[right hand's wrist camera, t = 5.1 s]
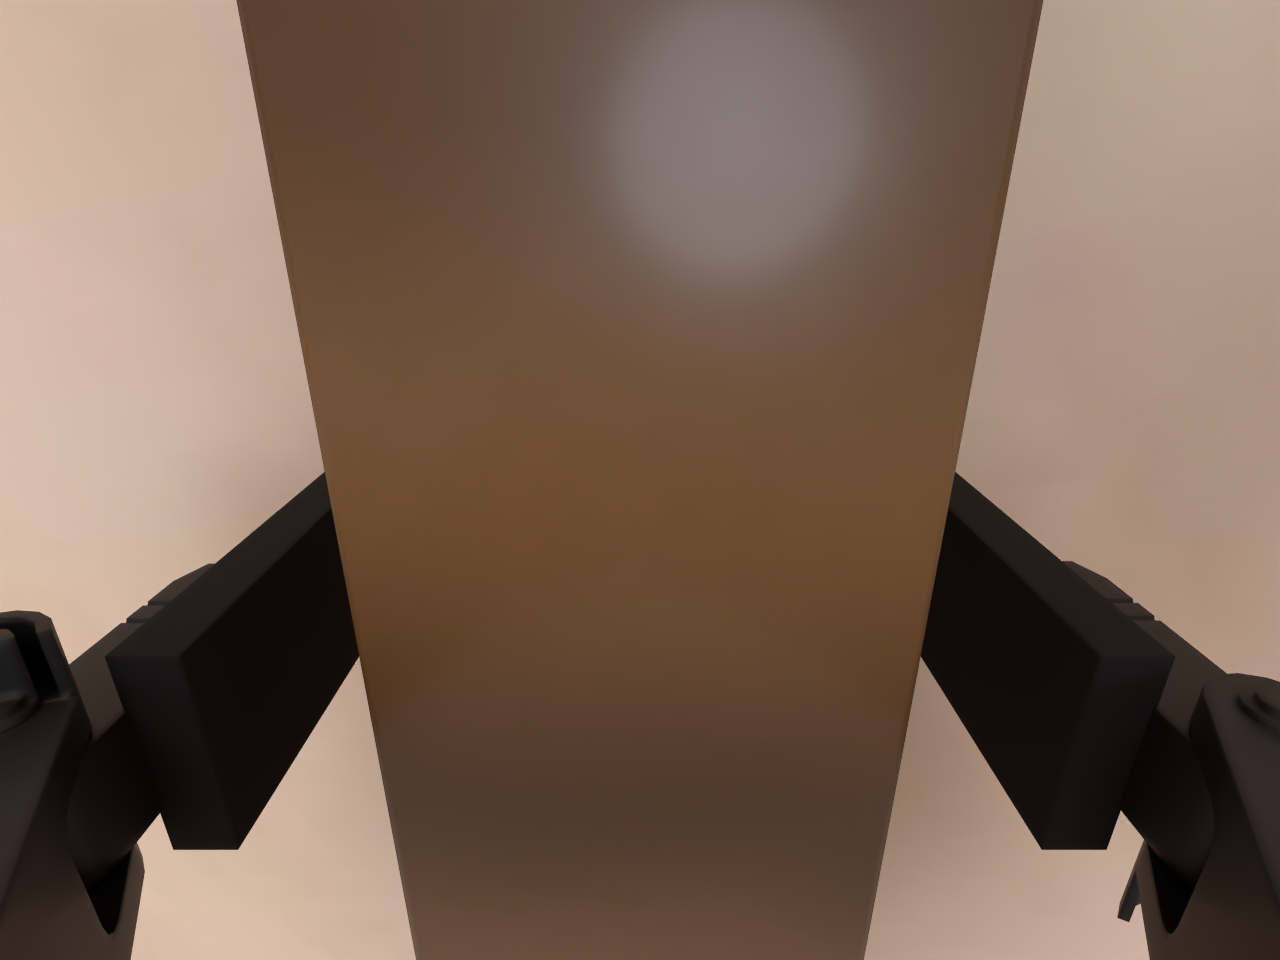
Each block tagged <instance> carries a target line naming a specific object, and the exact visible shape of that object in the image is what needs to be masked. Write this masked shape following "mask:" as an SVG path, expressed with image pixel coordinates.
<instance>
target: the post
mask: <svg viewBox="0 0 1280 960" xmlns="http://www.w3.org/2000/svg"><path fill="white" fill-rule="evenodd" d="M1042 4H1043V0H237V5H238V10H239V16H240V21H241V26H242V32H243V37H244V42H245V48H246V53H247V59H248V64H249V69H250V75H251V80H252V85H253V91H254V96H255V101H256V107H257V112H258V117H259V123H260V128H261V133H262V139H263V144H264V149H265V155H266V160H267V165H268V171H269V176H270V181H271V187H272V192H273V197H274V203H275V208H276V213H277V219H278V224H279V229H280V235H281V240H282V245H283V251H284V256H285V261H286V267H287V272H288V277H289V283H290V288H291V294H292V299H293V304H294V310H295V315H296V320H297V326H298V331H299V336H300V342H301V347H302V352H303V358H304V363H305V368H306V374H307V379H308V384H309V390H310V395H311V400H312V406H313V411H314V416H315V422H316V427H317V432H318V438H319V443H320V448H321V454H322V459H323V464H324V470H325V475H326V480H327V486H328V491H329V496H330V502H331V507H332V512H333V518H334V523H335V529H336V534H337V539H338V545H339V550H340V555H341V561H342V566H343V571H344V577H345V582H346V587H347V593H348V598H349V603H350V609H351V614H352V619H353V625H354V630H355V635H356V641H357V646H358V651H359V657H360V662H361V667H362V673H363V678H364V683H365V689H366V694H367V699H368V705H369V710H370V715H371V721H372V726H373V731H374V737H375V742H376V747H377V753H378V758H379V763H380V769H381V774H382V780H383V785H384V790H385V796H386V801H387V806H388V812H389V817H390V822H391V828H392V833H393V838H394V844H395V849H396V854H397V860H398V865H399V870H400V876H401V881H402V886H403V892H404V897H405V902H406V908H407V913H408V918H409V924H410V929H411V934H412V940H413V945H414V950H415V956H416V960H864V955H865V950H866V945H867V939H868V934H869V929H870V923H871V918H872V912H873V907H874V902H875V896H876V891H877V886H878V880H879V875H880V870H881V864H882V859H883V854H884V848H885V843H886V838H887V832H888V827H889V822H890V816H891V811H892V806H893V800H894V795H895V790H896V784H897V779H898V774H899V768H900V763H901V758H902V752H903V747H904V741H905V736H906V731H907V725H908V720H909V715H910V709H911V704H912V699H913V693H914V688H915V683H916V677H917V672H918V667H919V661H920V656H921V651H922V645H923V640H924V635H925V629H926V624H927V619H928V613H929V608H930V603H931V597H932V592H933V586H934V581H935V576H936V570H937V565H938V560H939V554H940V549H941V544H942V538H943V533H944V528H945V522H946V517H947V512H948V506H949V501H950V496H951V490H952V485H953V480H954V474H955V469H956V464H957V458H958V453H959V448H960V442H961V437H962V431H963V426H964V421H965V415H966V410H967V405H968V399H969V394H970V389H971V383H972V378H973V373H974V367H975V362H976V357H977V351H978V346H979V341H980V335H981V330H982V325H983V319H984V314H985V309H986V303H987V298H988V293H989V287H990V282H991V276H992V271H993V266H994V260H995V255H996V250H997V244H998V239H999V234H1000V228H1001V223H1002V218H1003V212H1004V207H1005V202H1006V196H1007V191H1008V186H1009V180H1010V175H1011V170H1012V164H1013V159H1014V154H1015V148H1016V143H1017V138H1018V132H1019V127H1020V122H1021V116H1022V111H1023V105H1024V100H1025V95H1026V89H1027V84H1028V79H1029V73H1030V68H1031V63H1032V57H1033V52H1034V47H1035V41H1036V36H1037V31H1038V25H1039V20H1040V15H1041V9H1042Z"/></svg>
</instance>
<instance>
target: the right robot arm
mask: <svg viewBox="0 0 1280 960" xmlns="http://www.w3.org/2000/svg"><path fill="white" fill-rule="evenodd" d="M358 657H359V651H358V646H357V641H356V635H355V630H354V625H353V619H352V614H351V609H350V603H349V598H348V593H347V587H346V582H345V577H344V571H343V566H342V561H341V555H340V550H339V545H338V539H337V534H336V529H335V523H334V518H333V512H332V507H331V502H330V496H329V491H328V486H327V480H326V475H325V472H324V473H323V474H322V475H320V476H319V477H318V478H317V479H316V480H314V481H313V482H312V483H311V484H310V485H309V486H307V487H306V488H305V489H304V490H303V491H301V492H300V493H299V494H298V495H297V496H295V497H294V498H293V499H292V500H291V501H289V502H288V503H287V504H286V505H285V506H283V507H282V508H281V509H280V510H279V511H278V512H276V513H275V514H274V515H273V516H272V517H270V518H269V519H268V520H267V521H266V522H264V523H263V524H262V525H261V526H260V527H258V528H257V529H256V530H255V531H254V532H252V533H251V534H250V535H249V536H248V537H246V538H245V539H244V540H243V541H242V542H241V543H239V544H238V545H237V546H236V547H235V548H233V549H232V550H231V551H230V552H229V553H227V554H226V555H225V556H224V557H223V558H221V559H220V560H219V561H218V562H217V563H215V564H207V565H205V566H203V567H201V568H199V569H197V570H195V571H193V572H191V573H189V574H187V575H185V576H183V577H181V578H179V579H177V580H175V581H173V582H172V583H171V584H169V585H168V586H167V587H166V588H164V589H163V590H162V591H161V592H159V593H158V594H157V595H156V596H154V597H153V598H152V599H151V600H149V601H148V606H142V607H141V608H139V609H138V610H137V611H136V612H134V613H133V614H132V615H131V616H129V617H128V618H127V621H126V623H121V624H119V625H118V626H117V627H116V628H114V629H113V630H112V631H111V632H109V633H108V634H107V635H106V636H104V637H103V638H102V639H101V640H99V641H98V642H97V643H96V644H94V645H93V646H92V647H91V648H89V649H88V650H87V651H86V652H84V653H83V654H82V655H81V656H79V657H78V658H77V659H76V660H74V661H73V662H72V663H71V664H68V661H67V659H66V656H65V654H64V651H63V648H62V646H61V643H60V641H59V638H58V635H57V633H56V630H55V628H54V625H53V622H52V620H51V618H49V617H48V616H46V615H44V614H42V613H40V612H33V611H9V612H2V613H0V960H130V959H131V953H132V947H133V941H134V935H135V928H136V922H137V916H138V910H139V904H140V898H141V891H142V885H143V879H144V873H145V870H144V864H143V857H142V854H141V852H140V849H139V846H138V844H137V841H138V840H139V839H140V837H141V836H142V835H143V834H144V832H145V831H146V830H147V829H148V827H149V826H150V825H151V823H152V822H153V821H154V820H155V818H156V817H157V816H158V815H159V813H161V816H162V819H163V822H164V825H165V827H166V830H167V833H168V836H169V839H170V841H171V844H172V847H173V850H238V849H239V847H240V846H241V844H242V843H243V841H244V839H245V838H246V836H247V835H248V833H249V831H250V830H251V828H252V827H253V825H254V823H255V822H256V820H257V819H258V817H259V815H260V814H261V812H262V811H263V809H264V807H265V806H266V804H267V803H268V801H269V799H270V798H271V796H272V795H273V793H274V792H275V790H276V788H277V787H278V785H279V784H280V782H281V780H282V779H283V777H284V776H285V774H286V772H287V771H288V769H289V768H290V766H291V764H292V763H293V761H294V760H295V758H296V756H297V755H298V753H299V752H300V750H301V748H302V747H303V745H304V744H305V742H306V740H307V739H308V737H309V736H310V734H311V732H312V731H313V729H314V728H315V726H316V724H317V723H318V721H319V720H320V718H321V716H322V715H323V713H324V712H325V710H326V708H327V707H328V705H329V704H330V702H331V700H332V699H333V697H334V696H335V694H336V692H337V691H338V689H339V688H340V686H341V684H342V683H343V681H344V680H345V678H346V676H347V675H348V673H349V672H350V670H351V668H352V667H353V665H354V664H355V662H356V660H357V659H358ZM921 657H922V659H923V661H924V662H925V664H926V665H927V667H928V668H929V670H930V672H931V673H932V675H933V676H934V678H935V680H936V681H937V683H938V684H939V686H940V688H941V689H942V691H943V692H944V694H945V696H946V697H947V699H948V700H949V702H950V704H951V705H952V707H953V708H954V710H955V712H956V713H957V715H958V716H959V718H960V720H961V721H962V723H963V724H964V726H965V728H966V729H967V731H968V732H969V734H970V736H971V737H972V739H973V740H974V742H975V744H976V745H977V747H978V748H979V750H980V752H981V753H982V755H983V756H984V758H985V760H986V761H987V763H988V764H989V766H990V768H991V769H992V771H993V772H994V774H995V776H996V777H997V779H998V780H999V782H1000V784H1001V785H1002V787H1003V788H1004V790H1005V792H1006V793H1007V795H1008V796H1009V798H1010V800H1011V801H1012V803H1013V804H1014V806H1015V808H1016V809H1017V811H1018V812H1019V814H1020V815H1021V817H1022V819H1023V820H1024V822H1025V823H1026V825H1027V827H1028V828H1029V830H1030V831H1031V833H1032V835H1033V836H1034V838H1035V839H1036V841H1037V843H1038V844H1039V846H1040V847H1041V849H1042V850H1107V847H1108V844H1109V841H1110V838H1111V836H1112V833H1113V830H1114V827H1115V825H1116V822H1117V819H1118V816H1119V813H1120V811H1122V812H1123V813H1124V815H1125V816H1126V817H1127V818H1128V820H1129V821H1130V822H1131V823H1132V825H1133V826H1134V827H1135V828H1136V830H1137V831H1138V832H1139V833H1140V835H1141V836H1142V837H1143V838H1144V841H1143V844H1142V846H1141V849H1140V852H1139V854H1138V857H1137V860H1136V862H1135V865H1134V867H1133V870H1132V873H1131V875H1130V878H1129V880H1128V883H1127V886H1126V888H1125V891H1124V893H1123V896H1122V899H1121V901H1120V906H1119V912H1118V918H1120V919H1122V920H1125V921H1127V922H1129V921H1130V918H1131V916H1132V913H1133V911H1134V908H1135V906H1136V905H1138V904H1140V903H1141V908H1142V914H1143V920H1144V926H1145V932H1146V938H1147V945H1148V951H1149V957H1150V960H1280V682H1278V681H1275V680H1272V679H1269V678H1265V677H1259V676H1252V675H1246V674H1239V673H1235V674H1227V673H1225V672H1224V671H1223V670H1222V669H1220V668H1219V667H1218V666H1217V665H1215V664H1214V663H1213V662H1212V661H1210V660H1209V659H1208V658H1206V657H1205V656H1204V655H1203V654H1201V653H1200V652H1199V651H1198V650H1196V649H1195V648H1194V647H1193V646H1191V645H1190V644H1189V643H1188V642H1186V641H1185V640H1184V639H1183V638H1181V637H1180V636H1179V635H1178V634H1176V633H1175V632H1174V631H1172V630H1171V629H1170V628H1169V627H1167V626H1166V625H1165V624H1164V623H1162V622H1161V621H1155V619H1154V615H1152V614H1151V613H1150V612H1149V611H1147V610H1146V609H1145V608H1144V607H1142V606H1141V605H1140V604H1139V603H1133V599H1132V598H1131V597H1130V596H1128V595H1127V594H1126V593H1125V592H1123V591H1122V590H1121V589H1120V588H1118V587H1117V586H1116V585H1115V584H1113V583H1112V582H1111V581H1110V580H1108V579H1107V578H1105V577H1103V576H1101V575H1099V574H1097V573H1095V572H1093V571H1091V570H1089V569H1086V568H1084V567H1082V566H1080V565H1078V564H1076V563H1074V562H1072V561H1061V560H1060V559H1059V558H1057V557H1056V556H1055V555H1054V554H1053V553H1051V552H1050V551H1049V550H1048V549H1047V548H1045V547H1044V546H1043V545H1042V544H1041V543H1039V542H1038V541H1037V540H1036V539H1035V538H1033V537H1032V536H1031V535H1030V534H1029V533H1028V532H1026V531H1025V530H1024V529H1023V528H1022V527H1020V526H1019V525H1018V524H1017V523H1016V522H1014V521H1013V520H1012V519H1011V518H1010V517H1008V516H1007V515H1006V514H1005V513H1004V512H1002V511H1001V510H1000V509H999V508H998V507H997V506H995V505H994V504H993V503H992V502H991V501H989V500H988V499H987V498H986V497H985V496H983V495H982V494H981V493H980V492H979V491H977V490H976V489H975V488H974V487H973V486H971V485H970V484H969V483H968V482H967V481H966V480H964V479H963V478H962V477H961V476H960V475H958V474H957V473H956V472H955V474H954V480H953V485H952V490H951V496H950V501H949V506H948V512H947V517H946V522H945V528H944V533H943V538H942V544H941V549H940V554H939V560H938V565H937V570H936V576H935V581H934V586H933V592H932V597H931V603H930V608H929V613H928V619H927V624H926V629H925V635H924V640H923V645H922V651H921Z"/></svg>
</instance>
